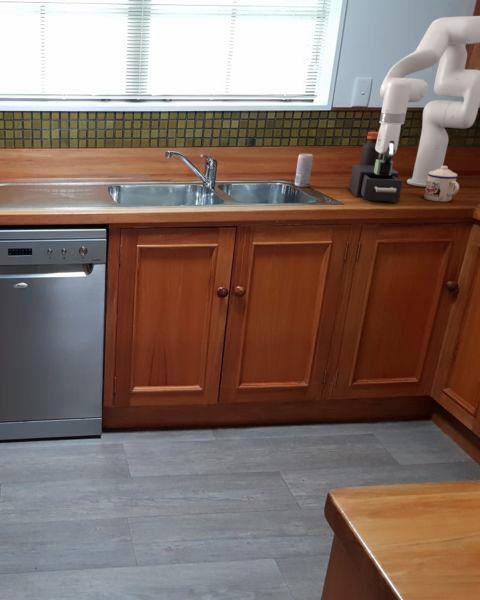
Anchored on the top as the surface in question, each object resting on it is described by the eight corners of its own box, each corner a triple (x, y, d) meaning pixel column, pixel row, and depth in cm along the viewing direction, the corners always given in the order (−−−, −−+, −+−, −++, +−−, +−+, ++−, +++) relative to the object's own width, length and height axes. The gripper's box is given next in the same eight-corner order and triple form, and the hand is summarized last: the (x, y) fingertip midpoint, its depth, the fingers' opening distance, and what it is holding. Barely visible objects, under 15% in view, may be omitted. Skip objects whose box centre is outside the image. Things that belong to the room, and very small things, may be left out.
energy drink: (307, 184, 238) (311, 153, 234) (310, 187, 233) (315, 155, 229) (293, 184, 239) (297, 153, 234) (296, 187, 234) (300, 155, 229)
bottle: (353, 185, 237) (362, 132, 230) (359, 182, 242) (368, 130, 235) (371, 187, 233) (381, 134, 226) (377, 184, 238) (387, 132, 230)
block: (373, 172, 213) (376, 159, 212) (387, 172, 213) (389, 159, 211) (376, 174, 209) (378, 161, 208) (390, 175, 209) (393, 162, 207)
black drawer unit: (402, 204, 204) (406, 183, 201) (365, 203, 206) (369, 181, 203) (389, 193, 220) (393, 173, 217) (355, 191, 223) (359, 171, 220)
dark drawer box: (393, 198, 216) (399, 173, 213) (356, 197, 219) (360, 171, 215) (384, 190, 229) (389, 165, 226) (348, 188, 232) (352, 164, 228)
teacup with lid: (416, 197, 218) (423, 164, 214) (437, 195, 221) (444, 163, 216) (443, 204, 208) (451, 170, 203) (464, 203, 210) (473, 169, 206)
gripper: (374, 115, 212) (365, 168, 219) (386, 121, 197) (375, 177, 204) (398, 116, 211) (388, 169, 218) (411, 121, 195) (400, 178, 203)
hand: (382, 172), depth 211 cm, fingers closed on block, 4 cm apart
